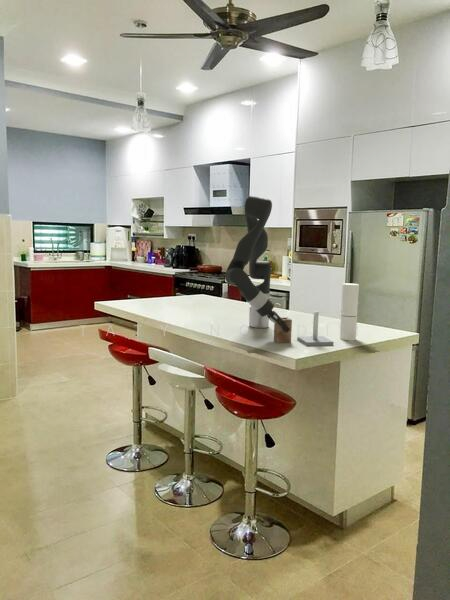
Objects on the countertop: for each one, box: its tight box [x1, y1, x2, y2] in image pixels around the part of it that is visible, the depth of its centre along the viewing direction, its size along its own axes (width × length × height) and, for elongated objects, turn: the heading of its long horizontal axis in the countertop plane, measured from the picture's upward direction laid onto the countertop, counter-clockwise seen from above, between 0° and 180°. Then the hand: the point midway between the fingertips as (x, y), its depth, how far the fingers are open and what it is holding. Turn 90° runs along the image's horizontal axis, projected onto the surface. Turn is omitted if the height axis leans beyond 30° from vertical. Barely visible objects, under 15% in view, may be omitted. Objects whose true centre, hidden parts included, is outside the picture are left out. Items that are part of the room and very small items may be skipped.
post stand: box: [296, 311, 335, 347], centre depth 212 cm, size 12×12×14 cm
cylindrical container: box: [339, 282, 360, 341], centre depth 220 cm, size 7×7×25 cm
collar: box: [273, 316, 293, 344], centre depth 213 cm, size 6×6×10 cm
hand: (285, 329), depth 213 cm, fingers open, 8 cm apart
